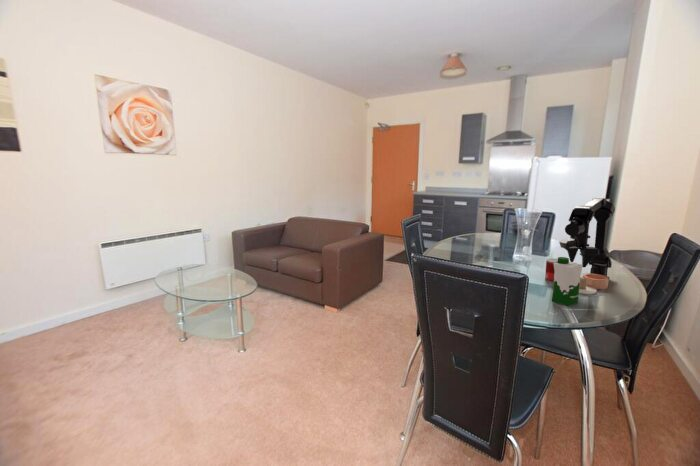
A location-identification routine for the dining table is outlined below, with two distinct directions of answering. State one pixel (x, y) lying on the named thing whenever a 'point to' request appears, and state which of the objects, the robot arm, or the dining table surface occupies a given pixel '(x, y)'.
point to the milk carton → (566, 281)
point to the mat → (594, 294)
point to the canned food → (550, 269)
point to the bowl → (596, 281)
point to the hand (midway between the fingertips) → (577, 264)
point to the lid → (586, 287)
